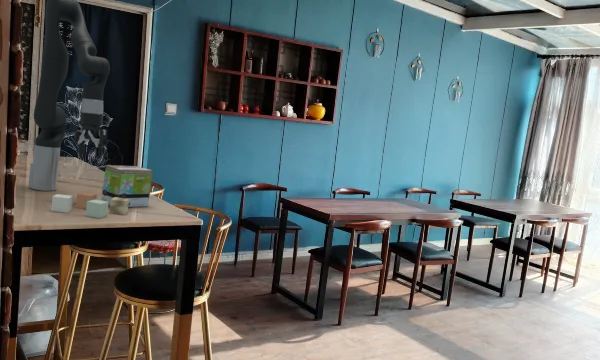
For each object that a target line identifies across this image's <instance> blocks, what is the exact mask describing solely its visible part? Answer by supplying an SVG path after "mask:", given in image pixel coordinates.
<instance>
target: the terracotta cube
mask: <svg viewBox="0 0 600 360" xmlns="http://www.w3.org/2000/svg"><path fill="white" fill-rule="evenodd" d="M97 195H98V194H97V193H91V192H85V191H82V192H78V193H77V194H76V199H75V208H76V209H82V210H86V206H87V201H91V200H97Z"/></svg>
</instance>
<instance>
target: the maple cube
mask: <svg viewBox="0 0 600 360" xmlns="http://www.w3.org/2000/svg"><path fill="white" fill-rule="evenodd" d="M128 205H129V199H125V198H118V197H114V198H113V199H111V205H110V206H109V213H110V214H114V215H115V214H116V215H122V216H125V215H126V214H128V211H129V207H128Z"/></svg>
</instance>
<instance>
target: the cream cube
mask: <svg viewBox="0 0 600 360" xmlns="http://www.w3.org/2000/svg"><path fill="white" fill-rule="evenodd" d="M72 204H73V195H68V194H60V193H56V194H55V195H53V196H52V199H51V209H50V210H51V212H57V213H66V214H67V213H68V212H69V213H70V211H71V210H72Z"/></svg>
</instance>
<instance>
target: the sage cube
mask: <svg viewBox="0 0 600 360" xmlns="http://www.w3.org/2000/svg"><path fill="white" fill-rule="evenodd" d="M108 203H109V202H106V201H101V199H96V200H91V201H87V206H86V209H85V216H87V217H91V218H95V219H102V218H105V217H107V216H108V212H109V210H108V209H109V205H108Z"/></svg>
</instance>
